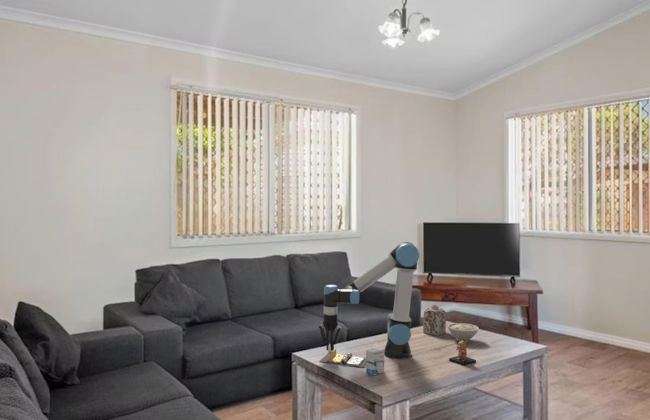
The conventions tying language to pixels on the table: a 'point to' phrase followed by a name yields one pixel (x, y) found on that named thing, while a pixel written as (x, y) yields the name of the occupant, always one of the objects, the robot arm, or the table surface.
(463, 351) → the figurine
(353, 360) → the fixed leaf
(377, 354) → the ink box
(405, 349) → the robot arm
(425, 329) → the decorative jar
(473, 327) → the bowl
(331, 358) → the loose leaf
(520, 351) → the table surface
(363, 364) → the grey two-tone fixture
